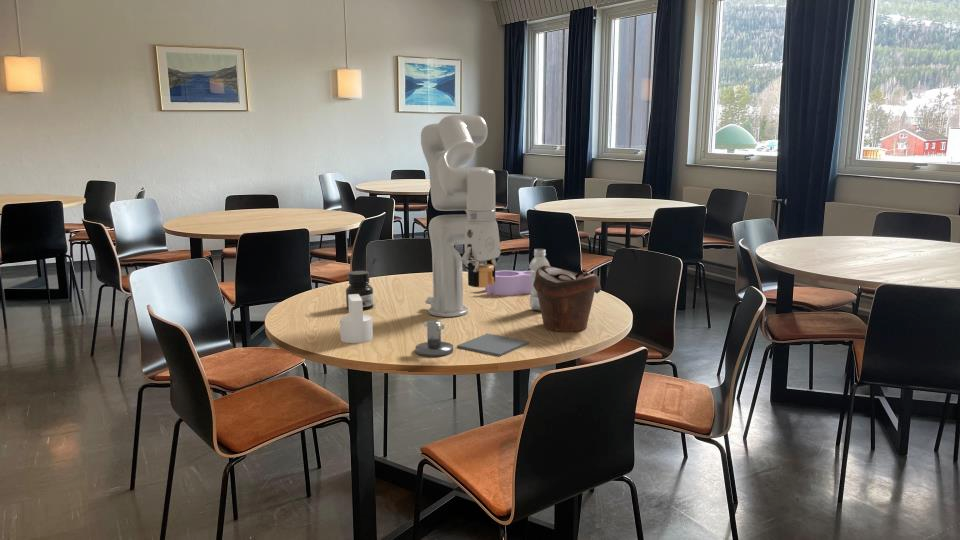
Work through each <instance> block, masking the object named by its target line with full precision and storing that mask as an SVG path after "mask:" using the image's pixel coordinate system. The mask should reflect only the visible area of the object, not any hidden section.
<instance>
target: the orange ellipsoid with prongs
mask: <svg viewBox="0 0 960 540" xmlns="http://www.w3.org/2000/svg"><path fill="white" fill-rule="evenodd" d="M472 264H473V266H474V263H472ZM492 271H494V265H491V264H486V263H479V265H478V269H477V272H479V286H478V287H476V288H479V289H480V288H483V289H485V287H488V284H491V285H494V277H492ZM470 287H473V288H475V287H474V286H470Z"/></svg>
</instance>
